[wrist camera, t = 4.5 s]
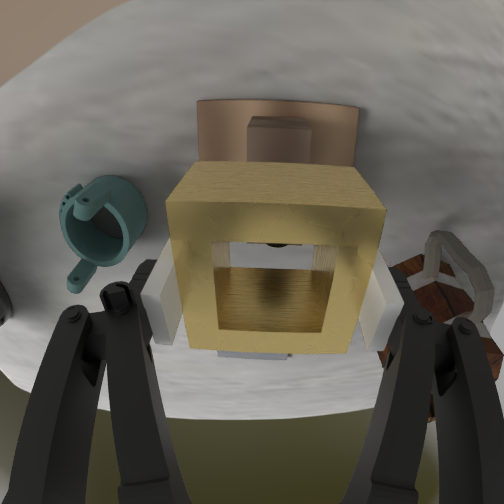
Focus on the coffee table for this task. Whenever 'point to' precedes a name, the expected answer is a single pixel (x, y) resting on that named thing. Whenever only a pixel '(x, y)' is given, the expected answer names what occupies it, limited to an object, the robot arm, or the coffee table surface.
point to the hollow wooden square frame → (273, 231)
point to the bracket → (88, 236)
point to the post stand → (277, 133)
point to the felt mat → (253, 355)
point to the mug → (451, 292)
